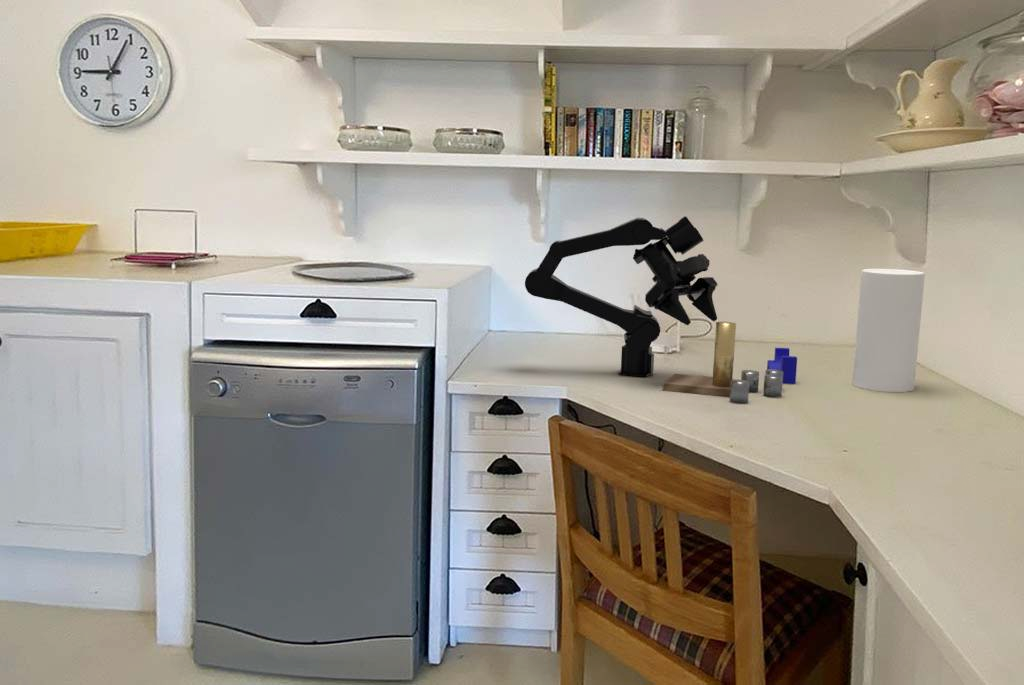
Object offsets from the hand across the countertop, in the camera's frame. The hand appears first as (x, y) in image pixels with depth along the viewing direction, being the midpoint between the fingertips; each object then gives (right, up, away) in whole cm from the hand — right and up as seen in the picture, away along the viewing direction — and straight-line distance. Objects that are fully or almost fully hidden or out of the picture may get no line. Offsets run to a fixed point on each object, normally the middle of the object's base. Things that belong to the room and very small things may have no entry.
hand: (702, 322), depth 196 cm
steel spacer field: (+10, -15, -7) cm, 19 cm away
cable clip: (+20, -13, +11) cm, 26 cm away
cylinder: (+40, -14, +4) cm, 43 cm away
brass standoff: (+3, -13, -5) cm, 14 cm away
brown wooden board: (-1, -14, -2) cm, 14 cm away
